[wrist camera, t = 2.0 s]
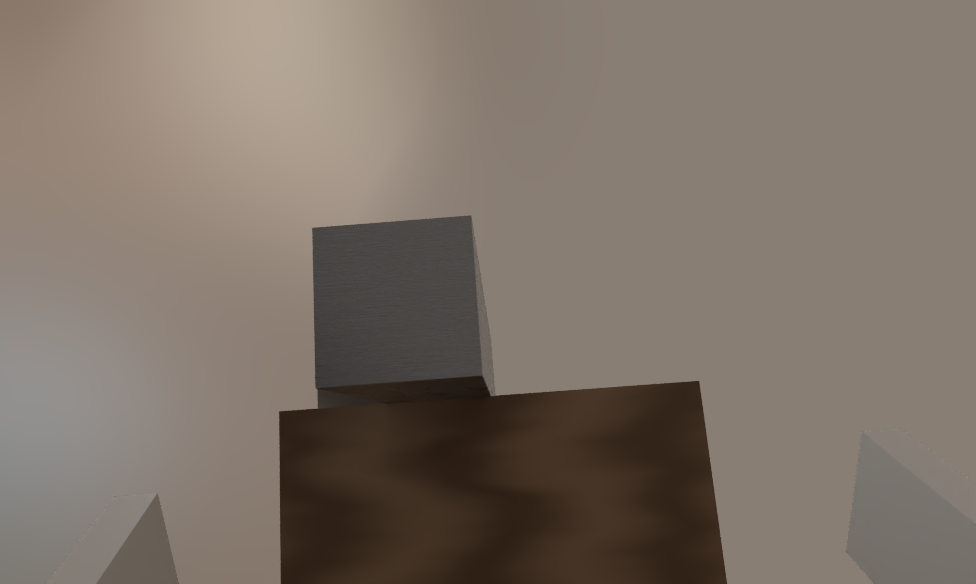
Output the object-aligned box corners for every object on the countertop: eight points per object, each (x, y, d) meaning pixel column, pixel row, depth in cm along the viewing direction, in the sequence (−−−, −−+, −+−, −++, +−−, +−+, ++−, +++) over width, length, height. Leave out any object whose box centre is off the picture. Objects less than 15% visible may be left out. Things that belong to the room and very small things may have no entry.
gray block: (315, 388, 16) (312, 227, 17) (428, 413, 39) (424, 346, 40) (482, 375, 16) (471, 215, 17) (496, 408, 39) (490, 341, 40)
